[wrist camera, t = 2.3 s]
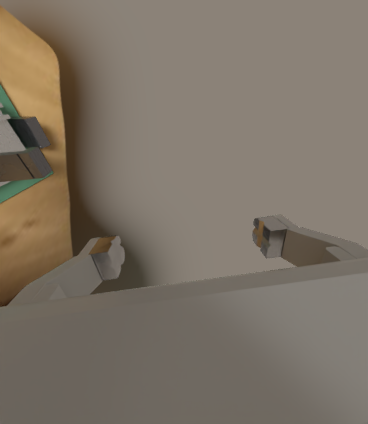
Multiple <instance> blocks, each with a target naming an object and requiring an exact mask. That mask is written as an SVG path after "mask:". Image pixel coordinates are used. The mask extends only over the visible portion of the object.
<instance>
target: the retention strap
mask: <svg viewBox="0 0 368 424" xmlns="http://www.w3.org/2000/svg"><path fill="white" fill-rule="evenodd" d="M51 171H52V169H51V167H50V166H49V164H48V162H47V161H46V159H45V157H44V156H43V154H42V152H41V151H40V149H39V147H31V148H28V149H26V150H24V151H16V152H3V153H0V182H6V181H18V180H30V179H38V178H44V177H46V176H47V175H48V174H49V173H50V172H51Z"/></svg>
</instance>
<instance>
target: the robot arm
mask: <svg viewBox="0 0 368 424" xmlns="http://www.w3.org/2000/svg"><path fill="white" fill-rule="evenodd" d="M253 224H254V226H255V229H254V230H253V234H252V236H253V241H254V243H255V244H256V245H257V246H258V247H260V248H261V249H260V250H261V252H262V253H263V255H264V256H265V257H266V258H275V257H282V258H283V259H285V260H287V261H288V262H290V263H292V264H293V265H295V266H297V267H293V268H286V269H278V270H270V271H263V272H256V273H249V274H241V275H234V276H227V277H219V278H212V279H204V280H196V281H189V282H182V283H174V284H166V285H159V286H152V287H144V288H137V289H129V290H123V291H114V292H107V293H100V294H92V295H90V294H91V292H92V291H93V290H94V289H95V288H96V287H97V286H98V285H99V284H100V283H101V282H102V281H103V280H109V279H115V278H118V276H119V274H120V271H121V267H120V266H121V265H122V264H123V263H124V259H125V253H124V249H123V247H122V246H120V243H121V240H120V237H119V236H108V237H98V238H92V239H90V240H89V242H88V243H87V244H86V246H85V247H84V248H83V250H82V251H81V252H80V254H79V255H78V256H75V257H73V258H71V259H70V260H68V261H66V262H65V263H63V264H61V265H60V266H58V267H56V268H55V269H53V270H51V271H50V272H48V273H47V274H45V275H43V276H42V277H40V278H38V279H37V280H35V281H33V282H32V283H30V284H28V285H27V286H25V287H24V288H23V289H22V290H21V291H20V292H19V293H18V294H17V295H16V297H15V298H14V299H13V300H12V301H11V302H10V303H9V304H8V305H7V306H3V307H0V424H368V250H367V249H366V248H364V247H363V246H361V245H359V244H357V243H355V242H351V241H348V240H345V239H341V238H337V237H334V236H331V235H327V234H323V233H320V232H317V231H313V230H309V229H306V228H303V227H300V228H299V227H298V226H296V225H295V224H293V223H292V222H291V221H289V220H288V219H287V218H285V217H284V216H283V215H273V216H267V217H261V218H255V219H254V222H253Z"/></svg>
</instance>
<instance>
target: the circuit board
mask: <svg viewBox="0 0 368 424" xmlns="http://www.w3.org/2000/svg"><path fill="white" fill-rule="evenodd" d="M0 103H1V104H2V105H3V107H1V108H0V110H1V112H2V113H3V114H8V115H9V116H10V117H20V116H19V115H18V113H17V111H16V110H15V108H14V106H13V105H12V103H11V101H10V100H9V98H8V96H7V95H6V93H5V91H4V90H3V88H2V86H1V85H0ZM25 149H28V148H27V147H25ZM51 174H53V171H51V172H50V173H49V174H48V175H47V176H46V177H48V176H50V175H51ZM46 177H44V178H46ZM44 178H38V179H30V180H18V181H10V182H8V183H6V184H4V185H2V186H0V203H1V202H3V201H5V200H7V199H8V198H10V197H12V196H14V195H16V194H17V193H19V192H21V191H23V190H25V189H26V188H28V187H30V186H32V185H34V184H35V183H37V182H39V181H41V180H43V179H44Z"/></svg>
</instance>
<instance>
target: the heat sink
mask: <svg viewBox="0 0 368 424" xmlns="http://www.w3.org/2000/svg"><path fill="white" fill-rule="evenodd" d="M1 107H3V105H2V104H1V103H0V108H1ZM49 145H51V144H50V142H49V141H48V139H47V137H46V135H45V133H44V132H43V130H42V128H41V126H40V124H39V122H38V121H37V119H36V117H10V116H9V115H8V114H3V113H2V112H1V110H0V153H3V152H16V151H24V150H26V149H25V147H27V148H31V147H39V148H44V147H47V146H49ZM8 182H10V181H6V182H0V186H2V185H4V184H6V183H8Z"/></svg>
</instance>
